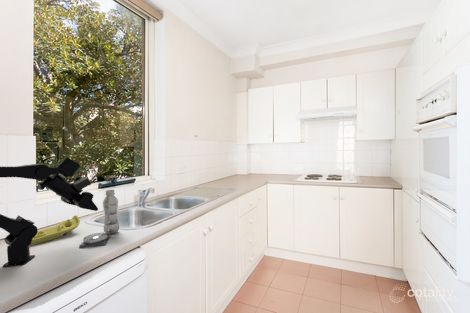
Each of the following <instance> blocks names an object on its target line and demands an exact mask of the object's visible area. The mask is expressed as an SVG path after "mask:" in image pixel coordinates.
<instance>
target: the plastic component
mask: <svg viewBox="0 0 470 313" xmlns="http://www.w3.org/2000/svg"><path fill="white" fill-rule="evenodd" d="M80 223H81V220H80V218H79V217H78V215H74V216H72V218H70V219H69V218H68V219H66V220H63V221H61V222H60V223H58V225H54V226H50V227H47V228H44V229H43V228H42V229H40V230H38V231H37V234H36V236H35V237H34V238H33V239H32V242H31V244H30V245H29V246H33V245H34V246H35V245H39V244H42V243H45V242H48V241H51V240H54V239H58V238H61V237H63V235H64V234H71V233H72V232H73V231H74V230H75V229H77V228H78V227H79V225H80Z"/></svg>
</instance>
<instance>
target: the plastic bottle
mask: <svg viewBox="0 0 470 313" xmlns="http://www.w3.org/2000/svg"><path fill="white" fill-rule="evenodd" d="M102 201H103V202H102V207H103V208H102V209H103V212H104V225H103V231H104V232H103V233H106V234H107V235H113V234H117V233H118V232H119V230H120V223H119V219H118V217H119V216H118V208H119V200H118V198H117V197H116V195H115V190H114V189H109V190H105V197H104V198H103V200H102Z"/></svg>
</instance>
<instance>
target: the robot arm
mask: <svg viewBox="0 0 470 313" xmlns="http://www.w3.org/2000/svg"><path fill="white" fill-rule="evenodd" d="M81 168H82V166H81V164H80V163H78V162H77V161H74V160H73V159H70V158H69V157H68V156H67V157H64V158H63V159H62V160H61V161H60V162H59V163H58V164H57V165H56V166H48V165H46V164H41V163H33V164H24V165H19V166H18V165H17V166H0V178H21V179H29V180H36V181H40V182H37V186H38V187H37V189H38V190H40V191H43V190H44V189H45V188H47V189H49V190H50V191H52V192H53V193H55V194H56V196H58V197H60V201H61V202H64V203H65V204H67V205H71V206H77V208H78V207H79V208H80V209H85V210H90V211H93V212H97V211H99V208H98V206H97V205H96V203H95V202H94V201H93V199H94V194H93V193H92V192H90V191H84V190H83V189H85V188H86V187H88V186H91V185H92V182H91V181H90V179H89V177H88V176H81V177H80V176H76V177H74V178H73V182H69V181H67V179H68V178H70V179H71V178H72V177H73V176H74V175H75V174H76V173H77V172H78V171H79V170H80V169H81ZM34 224H35V222H33V220H30V219H26V218H24V217H22V216H21V215H17V216H16V218H12V217H9V216H6V215H3V214H1V213H0V229H2V230H4V231H5V232H7V233H9V234H8V235H6V237H5V238H4V239H3V242H5V244H6V245H7V248H6V253H7V262H6V263H4V264H2V267H3V268H4V267H5V268H6V267H14V266H21V265H26V264H28V263H29V261H31V260H32V259H33V258H35V257H36V255H35V254H33V255H31V252H30V250H31V249H30V246H31V245H30V244H31V242H32V239H33V238H34V237H35V236H36V234H37V231H39V230H38V227H37V226H36V225H34Z"/></svg>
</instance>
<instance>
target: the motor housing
mask: <svg viewBox="0 0 470 313" xmlns="http://www.w3.org/2000/svg"><path fill="white" fill-rule="evenodd" d="M110 238H111V234H106V233H105V232H97V233H92V234H91V233H90V234H88V235H86V236H84V237H83V240H82V242H81V243H80V244H79V249H83V248H92V247H102V246H105V245H106V244H107V242H108V241H109V239H110Z"/></svg>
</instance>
